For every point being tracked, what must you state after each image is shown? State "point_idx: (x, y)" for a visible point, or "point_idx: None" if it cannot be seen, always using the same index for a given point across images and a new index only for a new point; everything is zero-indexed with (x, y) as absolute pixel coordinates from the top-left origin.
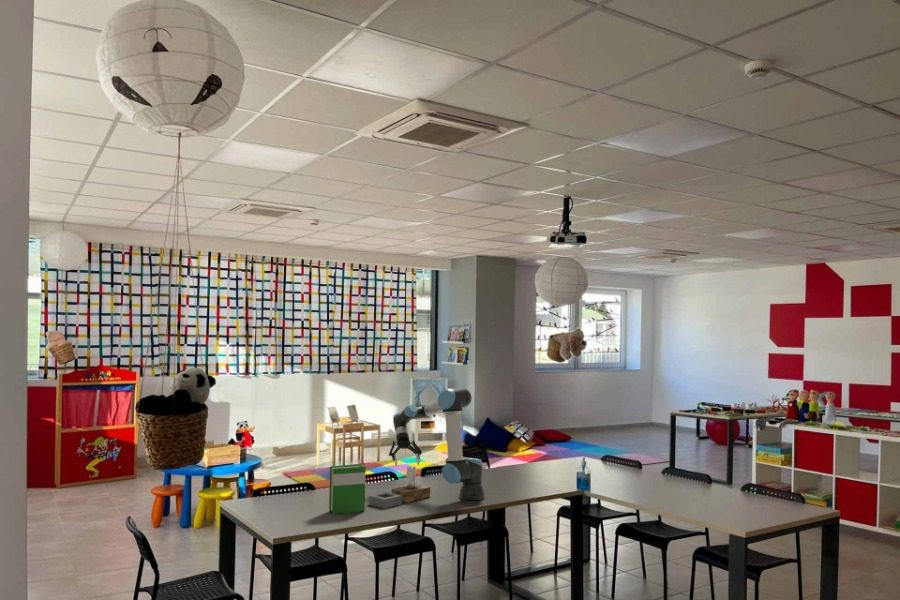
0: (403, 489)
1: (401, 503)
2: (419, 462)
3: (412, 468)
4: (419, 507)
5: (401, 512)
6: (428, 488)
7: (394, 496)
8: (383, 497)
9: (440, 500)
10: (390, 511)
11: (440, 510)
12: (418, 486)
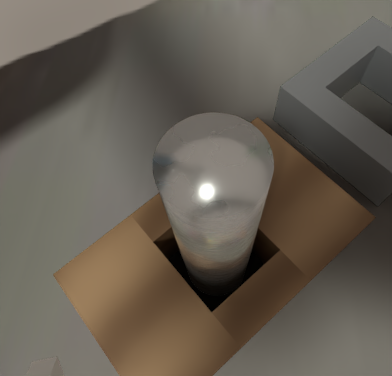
0: (276, 200)
1: (275, 114)
2: (32, 364)
3: (199, 115)
4: (182, 71)
5: (268, 4)
6: (73, 263)
7: (324, 70)
8: (388, 52)
9: (40, 204)
10: (319, 16)
11: (96, 27)
12: (146, 308)
